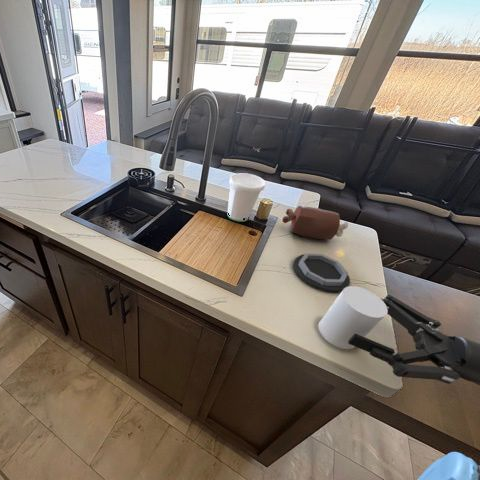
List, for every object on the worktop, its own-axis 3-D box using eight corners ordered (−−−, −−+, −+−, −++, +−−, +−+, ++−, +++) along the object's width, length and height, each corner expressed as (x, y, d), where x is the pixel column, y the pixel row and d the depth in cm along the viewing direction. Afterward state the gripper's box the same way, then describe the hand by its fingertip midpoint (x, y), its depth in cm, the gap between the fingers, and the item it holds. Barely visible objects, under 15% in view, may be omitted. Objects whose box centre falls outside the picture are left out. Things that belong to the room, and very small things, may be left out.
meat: (335, 232, 94) (349, 208, 88) (341, 250, 86) (357, 226, 79) (278, 220, 99) (288, 196, 93) (278, 236, 91) (289, 212, 84)
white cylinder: (364, 349, 57) (397, 318, 50) (329, 348, 57) (356, 316, 50) (344, 319, 64) (370, 286, 56) (312, 317, 64) (334, 285, 56)
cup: (216, 217, 99) (224, 181, 89) (229, 204, 107) (237, 170, 98) (247, 228, 93) (259, 191, 84) (258, 214, 102) (269, 179, 92)
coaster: (359, 293, 71) (364, 286, 69) (306, 292, 70) (310, 285, 69) (330, 257, 83) (334, 250, 81) (285, 256, 82) (288, 249, 80)
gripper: (487, 438, 42) (342, 371, 50) (444, 325, 60) (342, 289, 67) (529, 423, 38) (363, 352, 45) (469, 305, 55) (356, 268, 63)
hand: (350, 314), depth 56 cm, fingers open, 13 cm apart
